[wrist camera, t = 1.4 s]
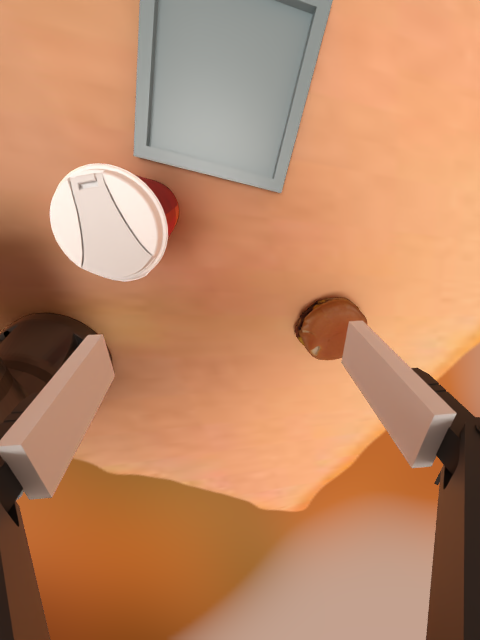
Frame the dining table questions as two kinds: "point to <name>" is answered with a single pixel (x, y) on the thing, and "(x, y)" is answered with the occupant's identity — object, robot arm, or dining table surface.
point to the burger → (327, 327)
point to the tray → (225, 84)
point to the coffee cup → (112, 220)
